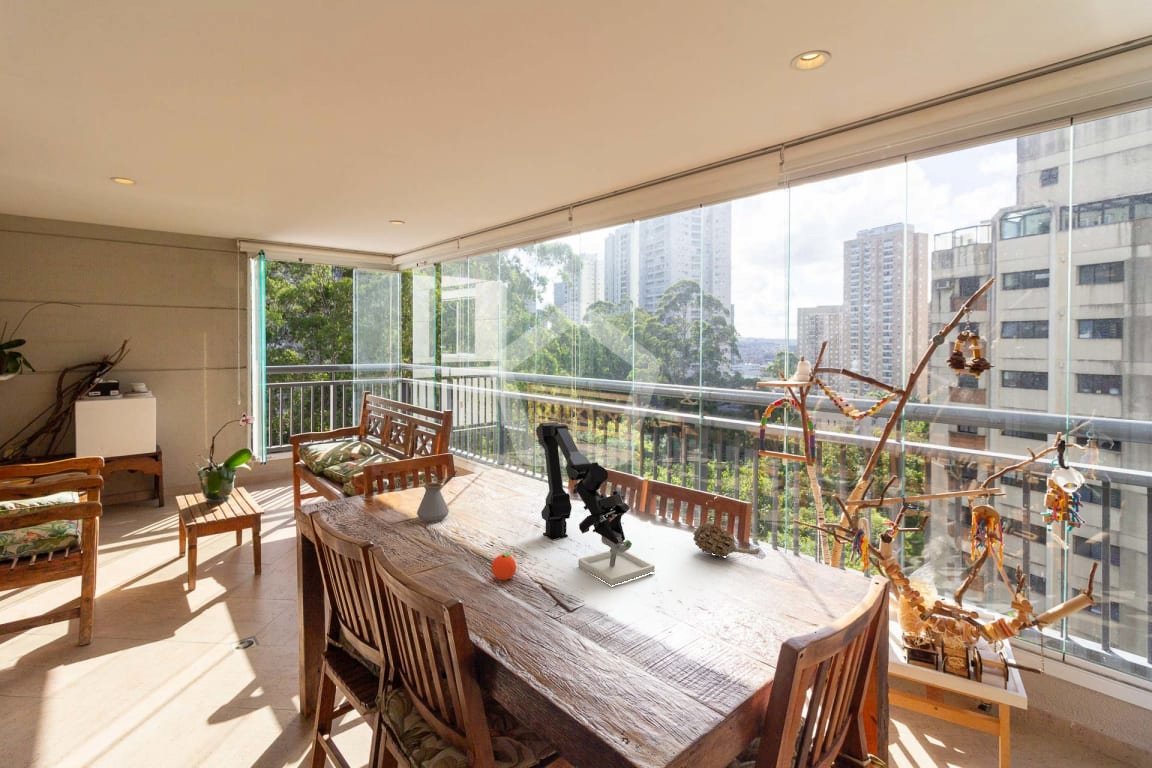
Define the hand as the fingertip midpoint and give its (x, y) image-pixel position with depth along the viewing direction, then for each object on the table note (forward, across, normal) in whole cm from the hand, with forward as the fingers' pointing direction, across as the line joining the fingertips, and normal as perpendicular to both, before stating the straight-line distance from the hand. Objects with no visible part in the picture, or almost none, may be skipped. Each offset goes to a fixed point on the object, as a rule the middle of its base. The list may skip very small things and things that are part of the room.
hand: (620, 541), depth 164 cm
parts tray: (+5, 0, +8) cm, 9 cm away
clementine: (-9, -26, +22) cm, 35 cm away
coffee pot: (-50, -5, +62) cm, 80 cm away
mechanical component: (+4, 0, +8) cm, 9 cm away
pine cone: (+20, +31, -7) cm, 37 cm away
